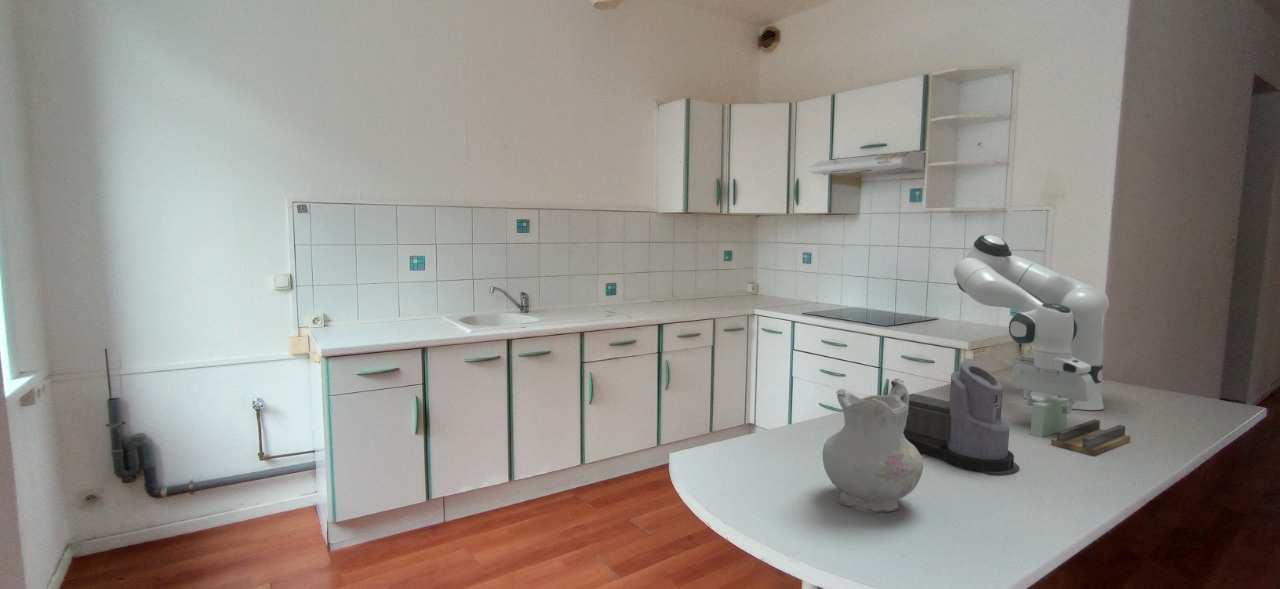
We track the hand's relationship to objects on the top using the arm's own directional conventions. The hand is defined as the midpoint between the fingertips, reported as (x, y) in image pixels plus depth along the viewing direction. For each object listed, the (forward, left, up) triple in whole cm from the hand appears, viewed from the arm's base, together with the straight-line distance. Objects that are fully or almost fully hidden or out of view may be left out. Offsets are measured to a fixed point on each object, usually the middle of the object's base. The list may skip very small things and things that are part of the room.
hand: (1048, 409), depth 179 cm
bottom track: (+11, -1, -7) cm, 13 cm away
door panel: (0, 0, -7) cm, 7 cm away
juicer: (-3, -42, -7) cm, 43 cm away
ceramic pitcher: (+3, -83, -7) cm, 83 cm away
